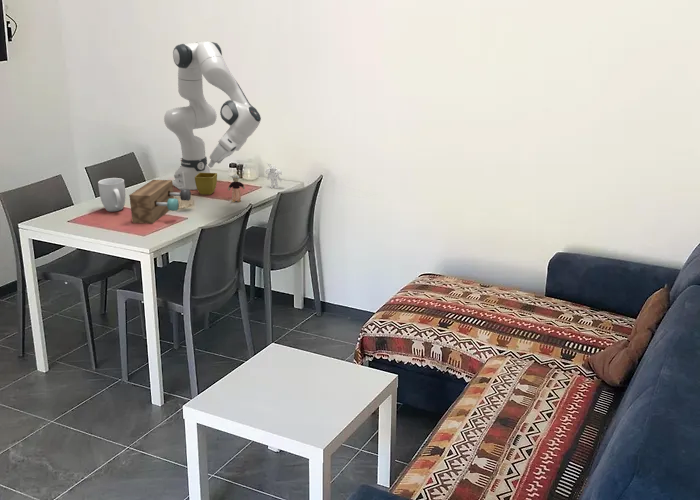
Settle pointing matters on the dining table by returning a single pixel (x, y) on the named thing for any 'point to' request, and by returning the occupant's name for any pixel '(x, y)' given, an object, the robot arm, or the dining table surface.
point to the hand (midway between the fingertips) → (213, 164)
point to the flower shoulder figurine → (273, 175)
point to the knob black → (183, 194)
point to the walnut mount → (150, 201)
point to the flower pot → (206, 182)
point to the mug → (112, 193)
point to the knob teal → (170, 204)
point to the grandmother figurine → (236, 188)
